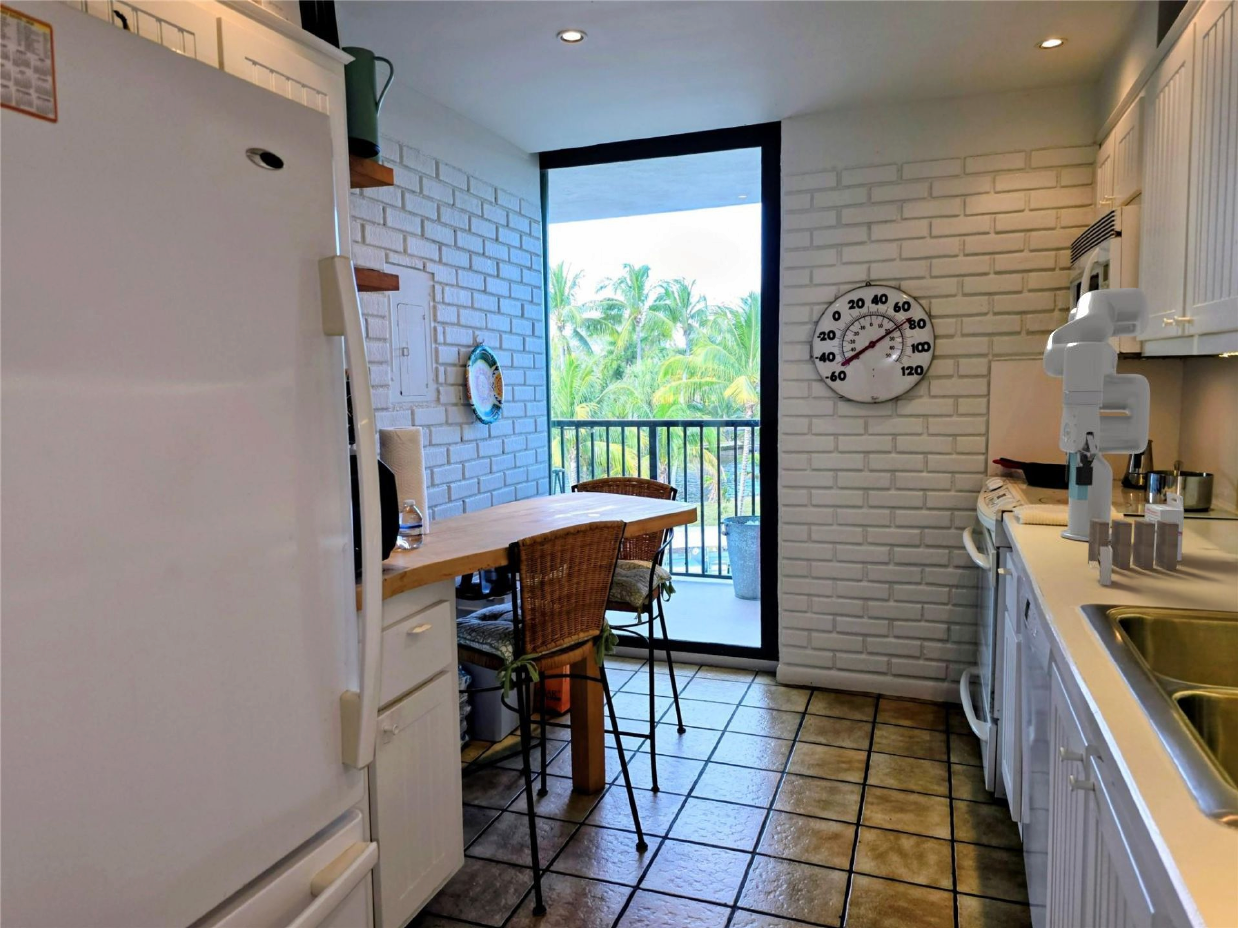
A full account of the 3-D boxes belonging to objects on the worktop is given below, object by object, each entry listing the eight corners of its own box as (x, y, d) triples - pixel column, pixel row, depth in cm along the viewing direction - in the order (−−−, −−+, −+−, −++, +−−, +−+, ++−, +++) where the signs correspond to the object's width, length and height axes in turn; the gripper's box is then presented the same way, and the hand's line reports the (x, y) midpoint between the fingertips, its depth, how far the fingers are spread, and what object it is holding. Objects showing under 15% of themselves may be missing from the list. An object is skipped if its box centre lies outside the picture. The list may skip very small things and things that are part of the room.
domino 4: (1132, 564, 177) (1134, 519, 176) (1142, 564, 176) (1144, 519, 175) (1142, 569, 172) (1145, 523, 171) (1153, 569, 171) (1155, 523, 170)
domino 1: (1068, 497, 178) (1070, 452, 177) (1078, 497, 177) (1080, 452, 176) (1077, 500, 173) (1079, 453, 172) (1087, 500, 172) (1089, 453, 171)
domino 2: (1087, 563, 178) (1089, 518, 177) (1097, 563, 178) (1099, 519, 177) (1097, 568, 173) (1099, 522, 172) (1107, 568, 173) (1109, 522, 172)
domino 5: (1154, 565, 176) (1157, 520, 175) (1164, 565, 176) (1167, 520, 175) (1166, 570, 171) (1168, 523, 170) (1176, 570, 171) (1178, 524, 170)
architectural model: (1090, 586, 160) (1092, 549, 160) (1088, 578, 166) (1090, 543, 166) (1110, 587, 159) (1112, 550, 158) (1107, 580, 165) (1109, 544, 164)
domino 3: (1109, 564, 177) (1111, 519, 177) (1119, 564, 177) (1121, 519, 176) (1119, 569, 173) (1122, 523, 172) (1130, 569, 172) (1132, 523, 171)
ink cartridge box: (1141, 553, 189) (1144, 490, 188) (1164, 553, 188) (1168, 491, 187) (1157, 560, 181) (1161, 495, 179) (1182, 561, 180) (1186, 496, 178)
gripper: (1049, 399, 182) (1046, 479, 184) (1078, 400, 165) (1074, 488, 167) (1085, 399, 181) (1081, 479, 182) (1118, 400, 164) (1114, 488, 166)
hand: (1078, 482), depth 175 cm, fingers closed on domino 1, 4 cm apart
